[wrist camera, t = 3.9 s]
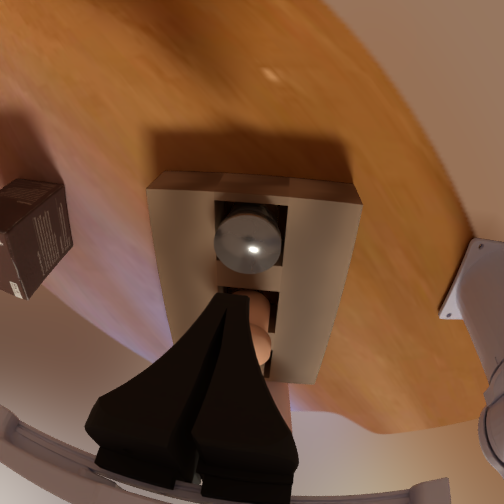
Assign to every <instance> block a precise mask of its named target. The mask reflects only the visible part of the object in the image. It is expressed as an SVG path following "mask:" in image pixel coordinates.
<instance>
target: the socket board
mask: <svg viewBox="0 0 504 504" xmlns="http://www.w3.org/2000/svg"><path fill="white" fill-rule="evenodd" d="M146 194H147V202H148V209H149V217H150V224H151V230H152V237H153V243H154V249H155V255H156V261H157V267H158V272H159V278H160V283H161V288H162V293H163V298H164V303H165V308H166V313H167V318H168V322H169V327H170V331H171V336H172V340H173V344H175V343H176V342H177V341H178V340H179V339H180V338H181V337H182V336H183V335H184V334H185V333H186V331H187V330H188V329H189V328H190V327H191V326H192V324H193V323H194V322H195V321H196V320H197V318H198V317H199V316H200V315H201V313H202V312H203V311H204V309H205V308H206V306H207V305H208V304H209V302H210V301H211V299H212V298H213V296H214V294H216V293H217V292H218V293H227V287H235V288H245V289H255V290H266V291H277V292H279V294H278V303H277V305H271V304H270V316H269V325H268V334H269V336H270V338H271V350H272V352H270V357H269V359H268V360H267V361H266V362H265V367H264V375H263V377H264V379H265V381H271V382H283V383H296V384H313V385H314V384H315V381H316V378H317V375H318V372H319V369H320V366H321V363H322V360H323V357H324V354H325V350H326V347H327V344H328V341H329V338H330V334H331V331H332V328H333V324H334V321H335V317H336V314H337V310H338V307H339V303H340V300H341V296H342V292H343V288H344V285H345V281H346V277H347V273H348V269H349V265H350V261H351V257H352V253H353V248H354V244H355V240H356V235H357V231H358V226H359V221H360V217H361V212H362V207H363V204H362V202H361V199H360V197H359V195H358V193H357V190H356V188H355V186H354V184H348V183H340V182H331V181H322V180H312V179H302V178H291V177H279V176H266V175H251V174H235V173H215V172H188V171H164V172H163V173H162V174H161V175H160V176H159V177H158V178H157V179H155V180H154V181H153V182H152V183H151V184H150V185H149V186H148V187H147V188H146ZM225 201H235V202H249V203H262V204H274V205H286V206H287V214H286V225H285V235H284V240H281V252H280V256H279V258H278V260H277V262H276V263H275V264H274V265H273V266H272V267H271V268H269V269H268V270H266V271H263V272H261V273H256V274H244V273H239V272H236V271H234V270H232V269H230V268H228V267H227V266H225V265H224V264H223V263H222V262H221V261H220V259H219V258H218V256H217V255H216V252H215V249H214V237H215V234H216V232H217V229H218V227H219V225H220V223H221V222H222V220H223V219H224V218H225Z"/></svg>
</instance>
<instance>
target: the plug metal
mask: <svg viewBox="0 0 504 504" xmlns="http://www.w3.org/2000/svg"><path fill="white" fill-rule="evenodd" d="M278 216H279V212H278V207H277V205H274V204H262V203H249V202H234V204H233V206H232V209H231V211H230V214H229V215H228V216H226V217H225V218H224V219H223V220H222V222H221V223H220V225H219V227H218V229H217V232H216V234H215V237H214V249H215V252H216V255H217V256H218V258H219V259H220V261H221V262H222V263H223V264H224V265H225V266H227V267H228V268H230V269H232V270H234V271H236V272H239V273H244V274H256V273H261V272H263V271H266V270H268V269H269V268H271V267H272V266H273V265H274V264H275V263H276V262H277V260H278V258H279V256H280V252H281V233H280V230H279V228H278Z"/></svg>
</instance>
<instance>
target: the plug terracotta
mask: <svg viewBox="0 0 504 504" xmlns="http://www.w3.org/2000/svg"><path fill="white" fill-rule="evenodd" d="M233 294H237V295H247V296H248V297H249V298H250V310H249V322H250V329H251V334H252V340H253V344H254V348H255V352H256V356H257V359H258V362H259V365H262V364H264V363H265V362H266V361H267V360H268V359H269V357H270V352H271V338H270V336H269V334H268V325H269V316H270V303H269V301H268V299H267V298H266V297H265V296H264V295H263V294H261V293H259V292H257V291H254V290H239V291H236V292H234V293H233Z"/></svg>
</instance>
